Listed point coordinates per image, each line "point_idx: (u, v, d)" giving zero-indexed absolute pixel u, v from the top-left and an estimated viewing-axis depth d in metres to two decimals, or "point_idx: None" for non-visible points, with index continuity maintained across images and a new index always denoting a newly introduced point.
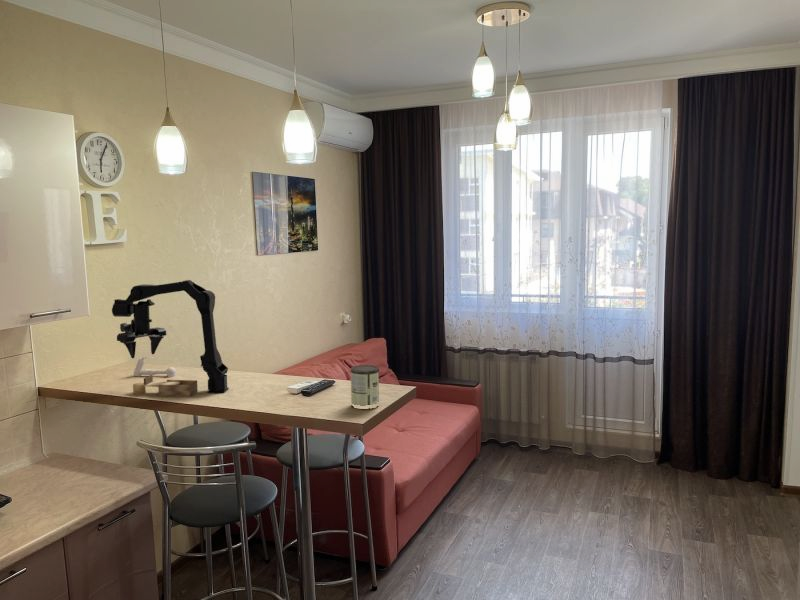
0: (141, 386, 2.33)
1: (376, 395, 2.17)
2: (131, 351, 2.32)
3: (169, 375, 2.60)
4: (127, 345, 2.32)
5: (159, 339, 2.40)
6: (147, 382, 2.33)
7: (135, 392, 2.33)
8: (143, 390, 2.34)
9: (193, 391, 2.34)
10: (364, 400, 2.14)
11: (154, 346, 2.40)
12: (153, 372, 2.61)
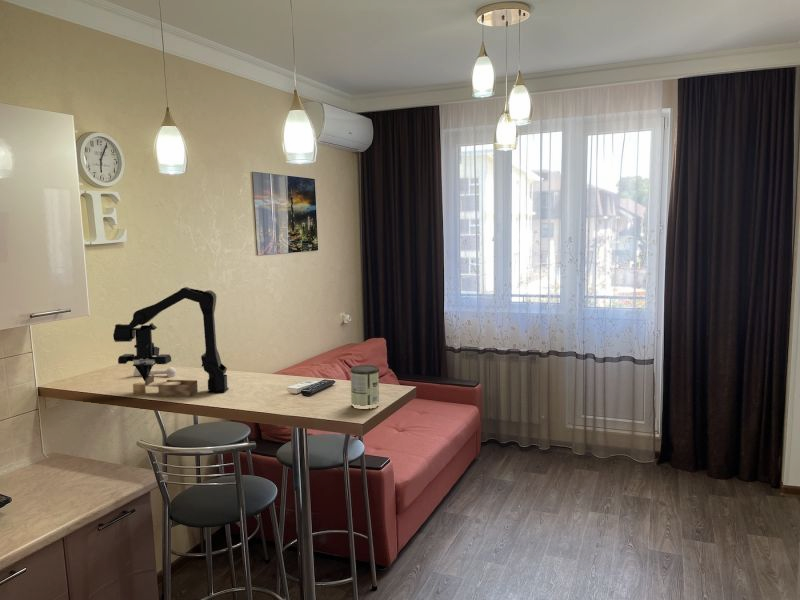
0: (141, 386, 2.33)
1: (376, 395, 2.17)
2: None
3: (169, 375, 2.60)
4: None
5: (145, 367, 2.31)
6: (148, 382, 2.33)
7: (135, 392, 2.33)
8: (143, 390, 2.34)
9: (193, 391, 2.34)
10: (364, 400, 2.14)
11: None
12: (153, 372, 2.61)
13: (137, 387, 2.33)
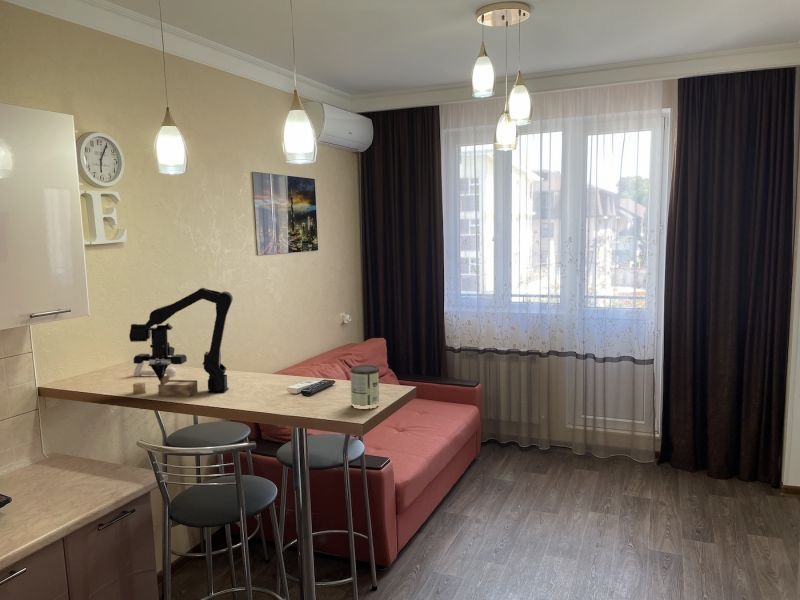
0: (140, 386, 2.33)
1: (376, 395, 2.17)
2: None
3: (169, 375, 2.60)
4: None
5: (160, 367, 2.31)
6: (164, 382, 2.32)
7: (134, 392, 2.33)
8: (142, 390, 2.34)
9: (193, 391, 2.34)
10: (364, 400, 2.14)
11: None
12: (153, 372, 2.61)
13: (137, 387, 2.32)
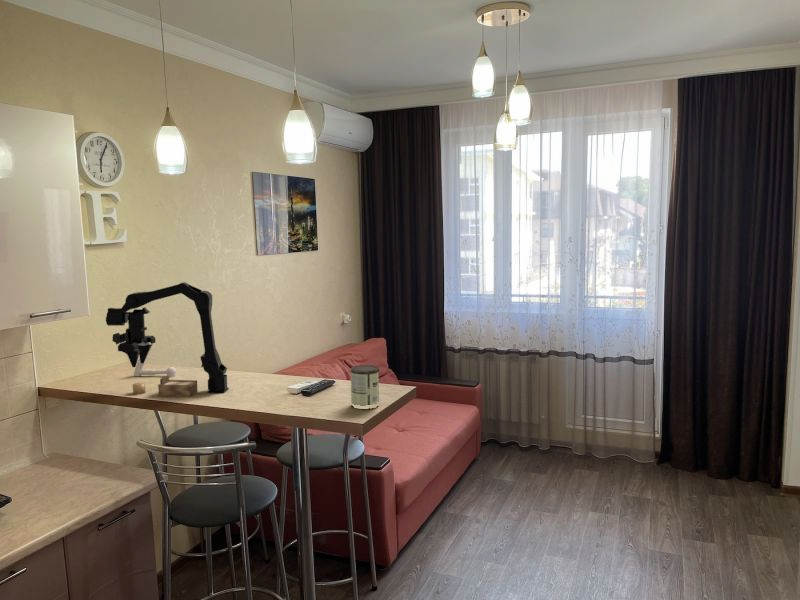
0: (139, 386, 2.33)
1: (376, 395, 2.17)
2: (134, 360, 2.29)
3: (169, 375, 2.60)
4: (129, 354, 2.28)
5: (149, 347, 2.37)
6: (164, 382, 2.32)
7: (134, 392, 2.33)
8: (141, 390, 2.33)
9: (193, 391, 2.34)
10: (364, 400, 2.14)
11: (144, 355, 2.37)
12: (153, 372, 2.61)
13: (135, 387, 2.32)
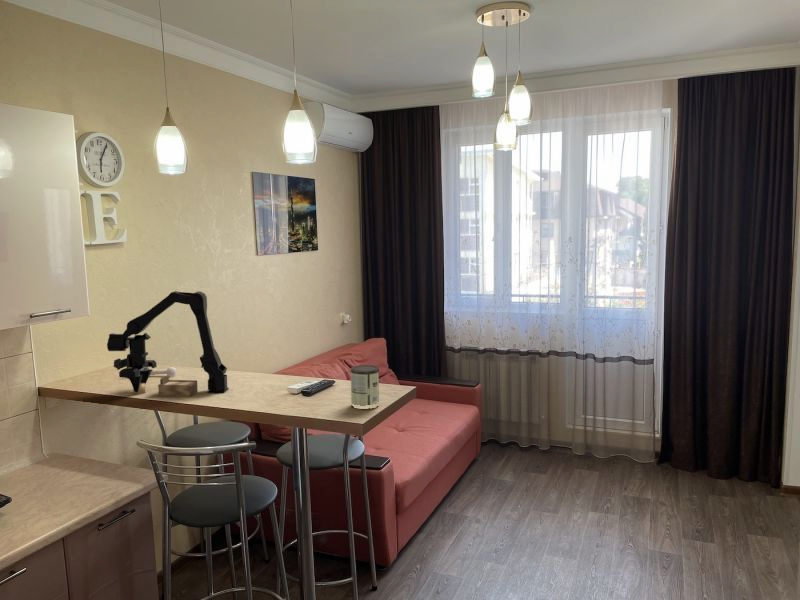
0: None
1: (376, 395, 2.17)
2: (136, 385, 2.31)
3: (169, 375, 2.60)
4: (131, 379, 2.31)
5: (149, 373, 2.38)
6: (164, 382, 2.32)
7: (133, 392, 2.33)
8: (141, 390, 2.33)
9: (193, 391, 2.34)
10: (364, 400, 2.14)
11: (144, 380, 2.37)
12: (153, 372, 2.61)
13: None
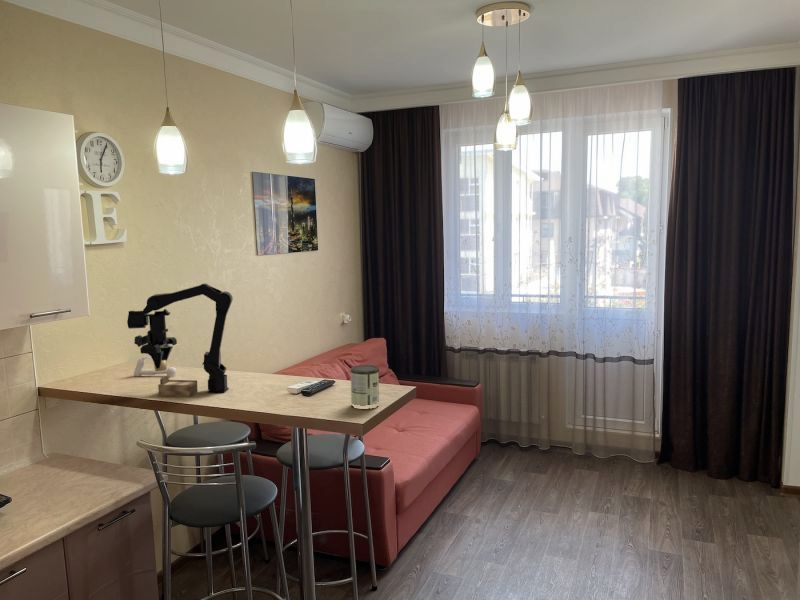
0: None
1: (376, 395, 2.17)
2: (158, 361, 2.30)
3: (169, 375, 2.60)
4: (152, 356, 2.29)
5: (170, 349, 2.36)
6: (164, 382, 2.32)
7: (155, 368, 2.32)
8: (162, 367, 2.32)
9: (193, 391, 2.34)
10: (364, 400, 2.14)
11: (165, 357, 2.35)
12: (153, 372, 2.61)
13: None
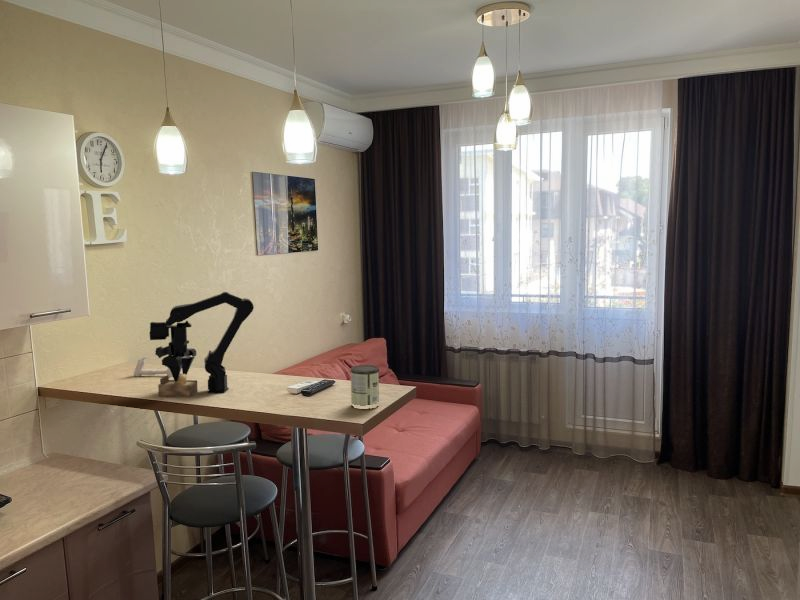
0: (180, 377, 2.31)
1: (376, 395, 2.17)
2: (176, 374, 2.28)
3: (169, 375, 2.60)
4: (171, 368, 2.27)
5: (192, 360, 2.38)
6: (163, 382, 2.32)
7: (175, 382, 2.32)
8: (182, 381, 2.32)
9: (193, 391, 2.34)
10: (364, 400, 2.14)
11: (187, 368, 2.37)
12: (153, 372, 2.61)
13: None
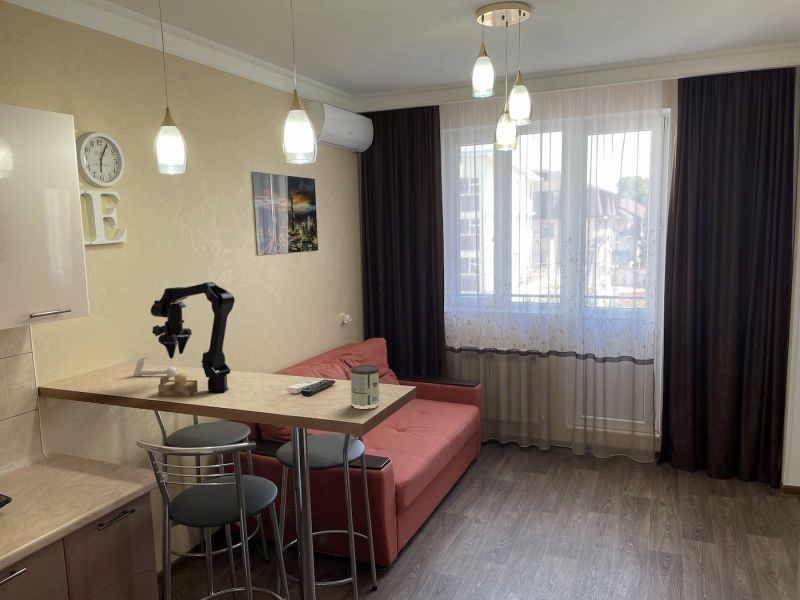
0: (180, 377, 2.31)
1: (376, 395, 2.17)
2: (171, 351, 2.40)
3: (169, 375, 2.60)
4: (167, 346, 2.39)
5: (188, 339, 2.51)
6: (163, 382, 2.32)
7: (175, 382, 2.32)
8: (182, 381, 2.32)
9: (193, 391, 2.34)
10: (364, 400, 2.14)
11: (183, 346, 2.50)
12: (153, 372, 2.61)
13: (176, 377, 2.31)
